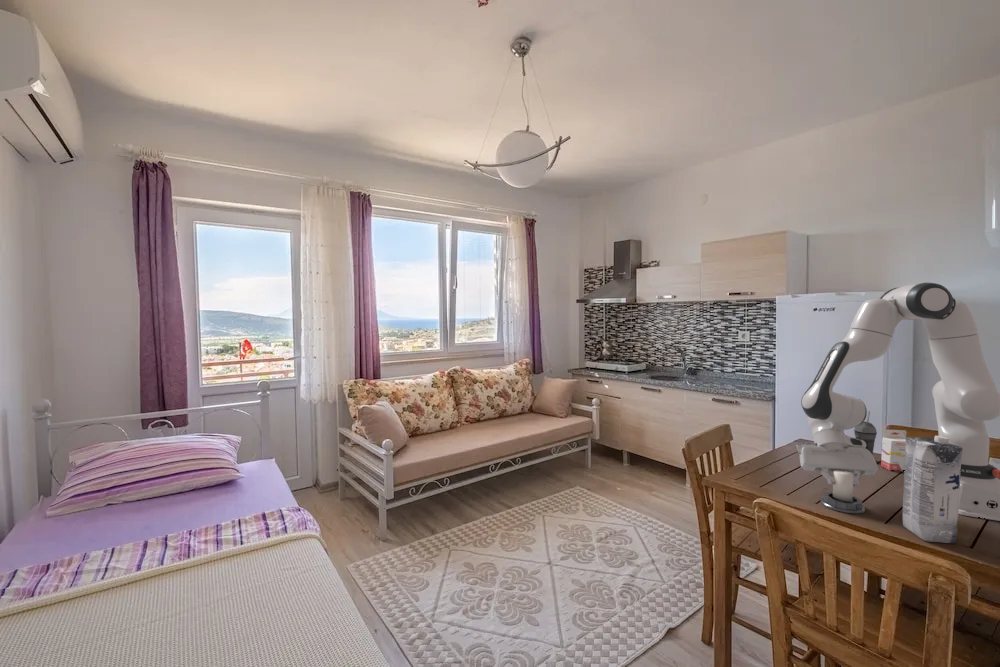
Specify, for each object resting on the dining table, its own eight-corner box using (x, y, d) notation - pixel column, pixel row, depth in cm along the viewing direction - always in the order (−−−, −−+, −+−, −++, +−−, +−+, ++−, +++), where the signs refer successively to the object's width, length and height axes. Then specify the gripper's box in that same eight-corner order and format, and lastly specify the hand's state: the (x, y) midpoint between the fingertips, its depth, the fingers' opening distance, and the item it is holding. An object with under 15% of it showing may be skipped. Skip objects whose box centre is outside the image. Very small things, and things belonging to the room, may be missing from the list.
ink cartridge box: (890, 471, 172) (891, 432, 171) (880, 466, 177) (882, 429, 176) (914, 472, 171) (916, 433, 170) (904, 467, 176) (906, 429, 175)
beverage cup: (848, 457, 189) (850, 409, 188) (866, 457, 188) (868, 409, 187) (861, 462, 181) (863, 413, 180) (880, 463, 181) (882, 413, 180)
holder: (865, 505, 142) (865, 496, 142) (864, 517, 134) (864, 508, 133) (822, 495, 149) (822, 488, 149) (818, 507, 141) (819, 498, 140)
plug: (853, 497, 141) (854, 472, 141) (852, 502, 138) (853, 476, 137) (833, 493, 145) (834, 468, 144) (831, 498, 141) (832, 472, 140)
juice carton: (922, 543, 119) (927, 440, 117) (896, 524, 129) (901, 430, 128) (963, 546, 117) (969, 442, 116) (933, 527, 127) (938, 432, 126)
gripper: (797, 437, 150) (808, 477, 141) (871, 441, 144) (887, 483, 135) (792, 446, 154) (802, 485, 145) (863, 451, 149) (878, 492, 140)
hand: (844, 484), depth 140 cm, fingers closed on plug, 5 cm apart
